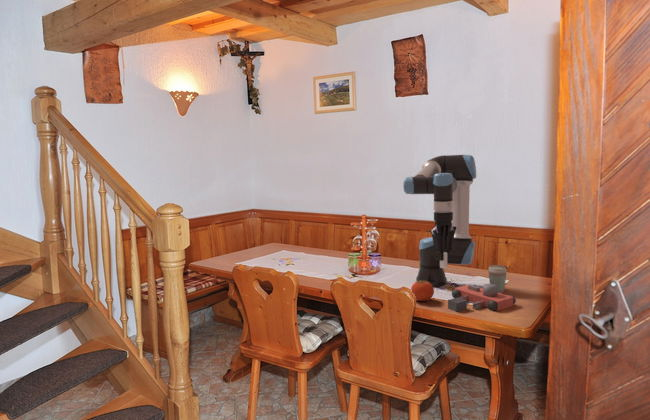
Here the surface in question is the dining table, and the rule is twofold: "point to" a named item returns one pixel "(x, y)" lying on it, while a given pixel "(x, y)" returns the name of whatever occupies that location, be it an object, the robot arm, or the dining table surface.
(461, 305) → the grey cube
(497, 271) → the coffee cup
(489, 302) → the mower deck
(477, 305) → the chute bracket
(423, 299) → the tomato
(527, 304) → the dining table surface
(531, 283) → the dining table surface
